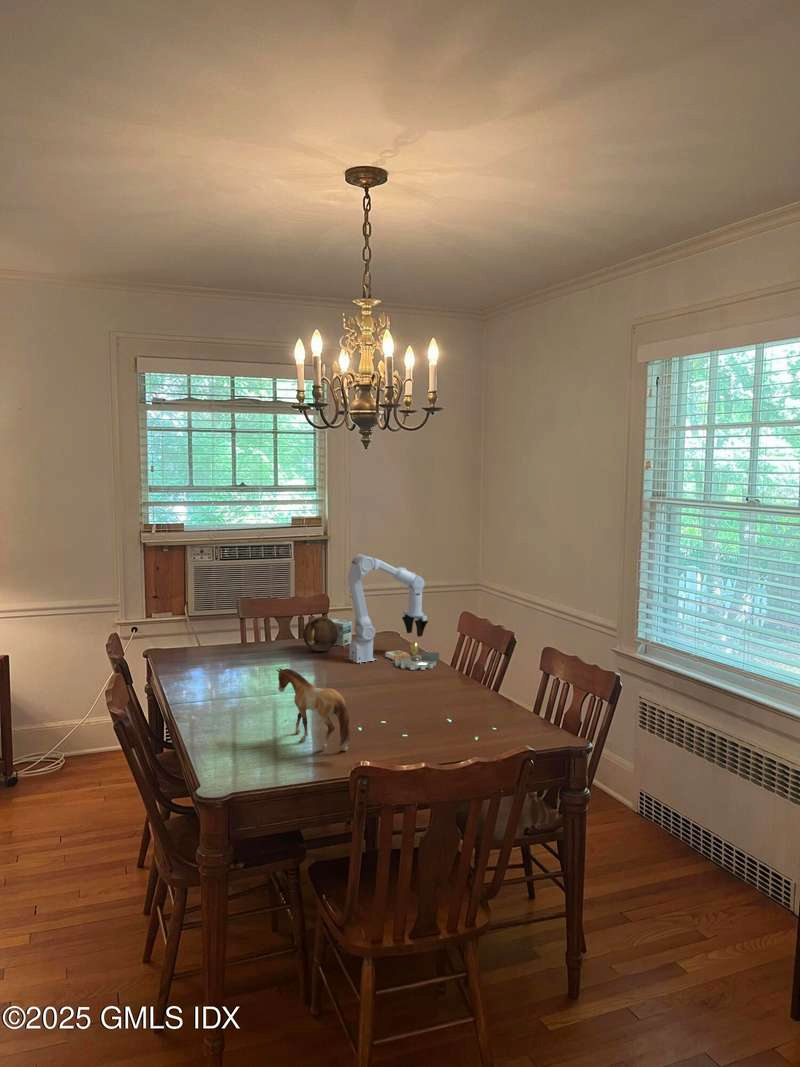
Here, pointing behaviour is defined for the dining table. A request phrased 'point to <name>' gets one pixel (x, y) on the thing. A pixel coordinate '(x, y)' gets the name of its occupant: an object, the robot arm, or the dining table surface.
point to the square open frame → (395, 654)
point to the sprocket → (418, 661)
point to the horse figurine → (316, 705)
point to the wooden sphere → (320, 634)
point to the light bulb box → (343, 631)
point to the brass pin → (414, 648)
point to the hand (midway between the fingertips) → (414, 634)
